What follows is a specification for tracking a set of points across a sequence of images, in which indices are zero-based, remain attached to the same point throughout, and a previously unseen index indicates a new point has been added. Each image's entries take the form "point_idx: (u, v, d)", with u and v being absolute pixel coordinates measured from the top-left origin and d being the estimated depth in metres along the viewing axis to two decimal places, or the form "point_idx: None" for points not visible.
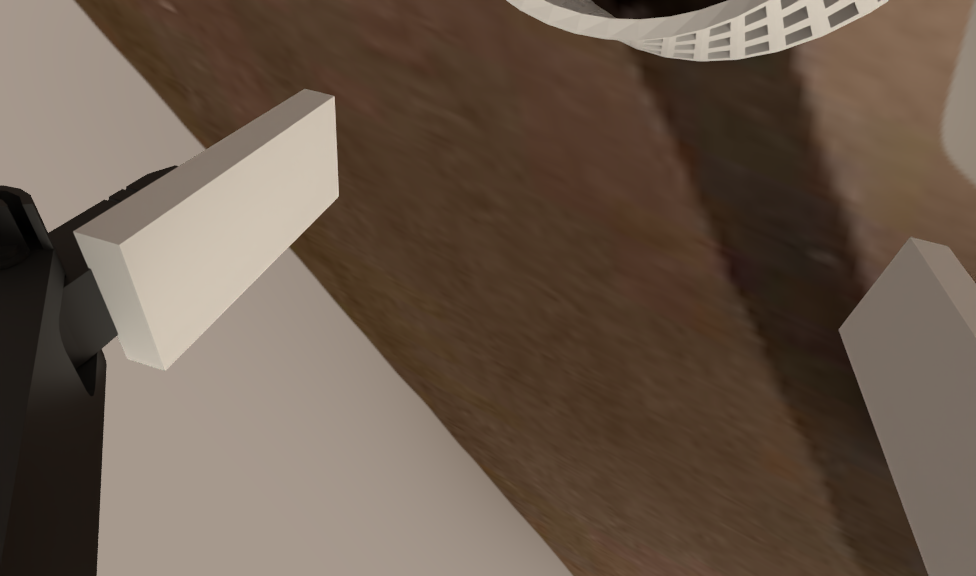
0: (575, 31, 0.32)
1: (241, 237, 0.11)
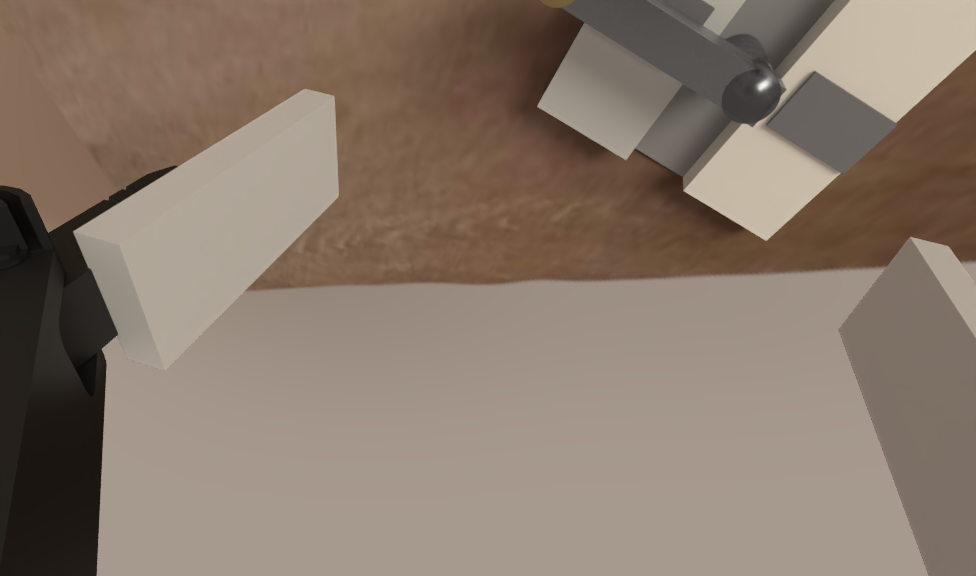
0: None
1: (240, 237, 0.11)
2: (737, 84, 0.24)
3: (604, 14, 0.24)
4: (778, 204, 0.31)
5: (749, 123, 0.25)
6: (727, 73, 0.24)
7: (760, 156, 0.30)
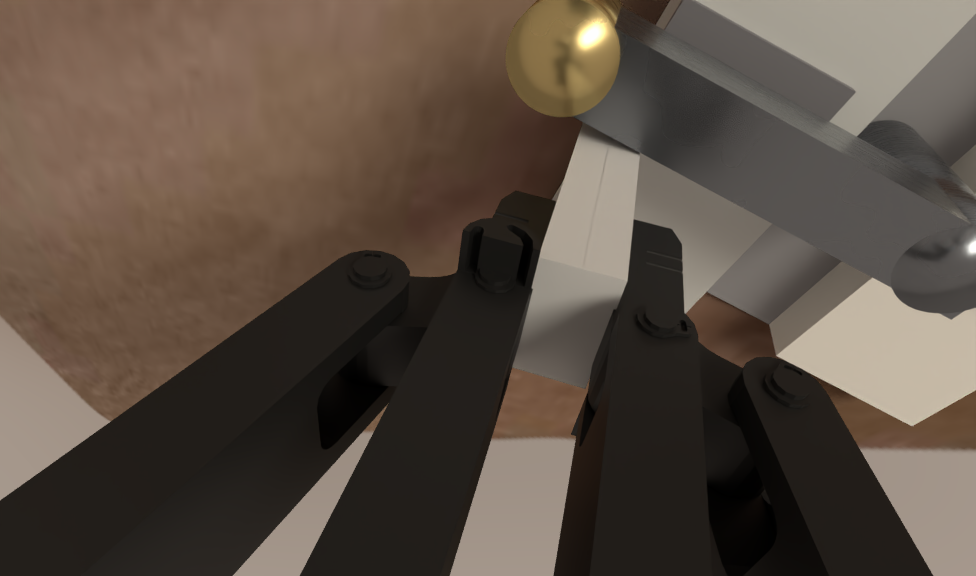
0: None
1: None
2: (929, 249, 0.12)
3: (658, 126, 0.12)
4: (938, 379, 0.19)
5: (945, 313, 0.13)
6: (910, 230, 0.12)
7: (914, 313, 0.18)
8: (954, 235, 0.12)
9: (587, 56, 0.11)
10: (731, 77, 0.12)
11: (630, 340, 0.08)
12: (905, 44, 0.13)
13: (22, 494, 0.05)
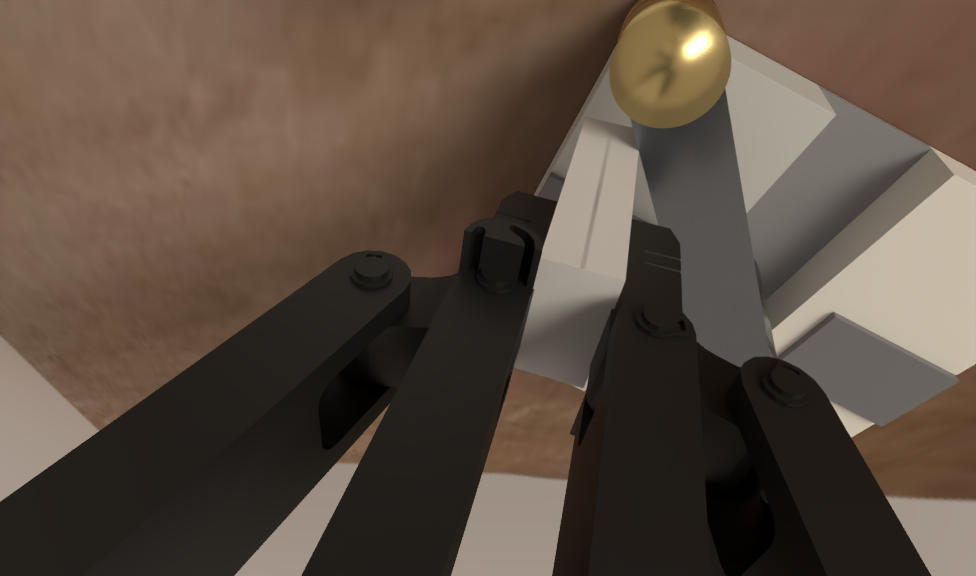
0: None
1: None
2: None
3: (678, 179, 0.13)
4: None
5: None
6: (742, 358, 0.15)
7: None
8: None
9: (689, 88, 0.11)
10: None
11: (628, 339, 0.08)
12: None
13: (24, 495, 0.05)
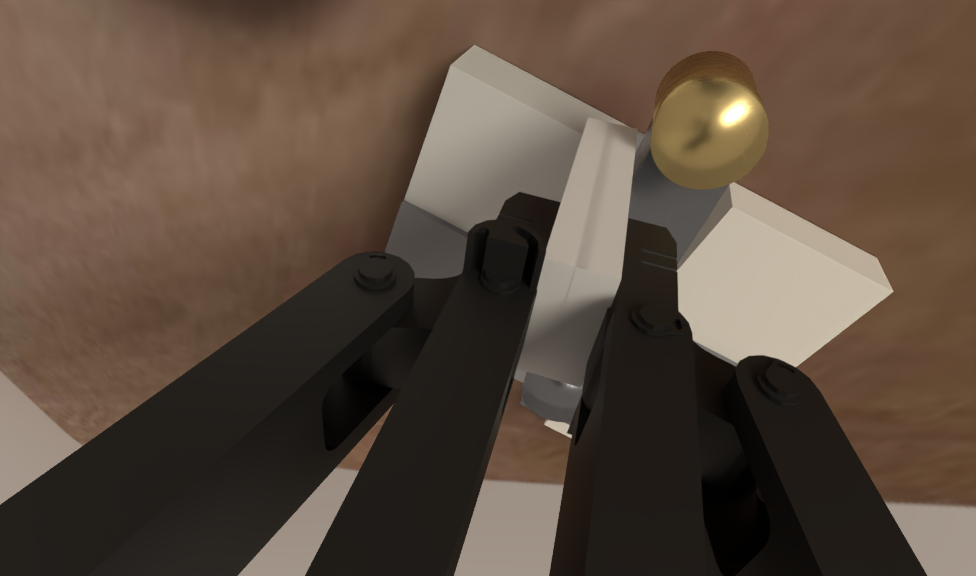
0: None
1: None
2: (568, 385, 0.18)
3: None
4: None
5: (523, 400, 0.19)
6: None
7: None
8: (581, 393, 0.18)
9: (711, 163, 0.12)
10: None
11: (623, 339, 0.08)
12: None
13: (27, 495, 0.05)
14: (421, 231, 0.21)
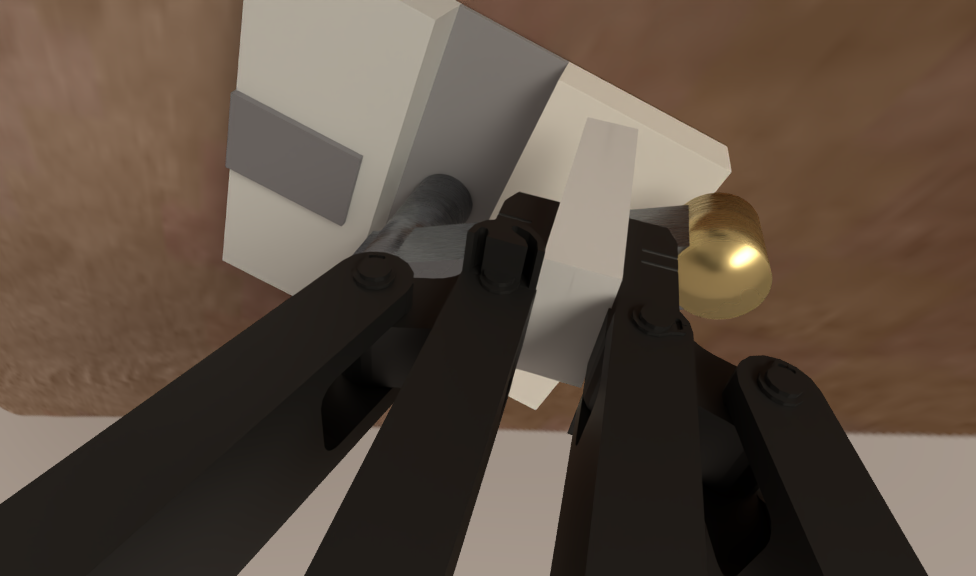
0: None
1: None
2: None
3: None
4: None
5: None
6: None
7: None
8: None
9: (700, 293, 0.14)
10: None
11: (625, 339, 0.08)
12: (378, 127, 0.19)
13: (26, 495, 0.05)
14: (256, 124, 0.19)
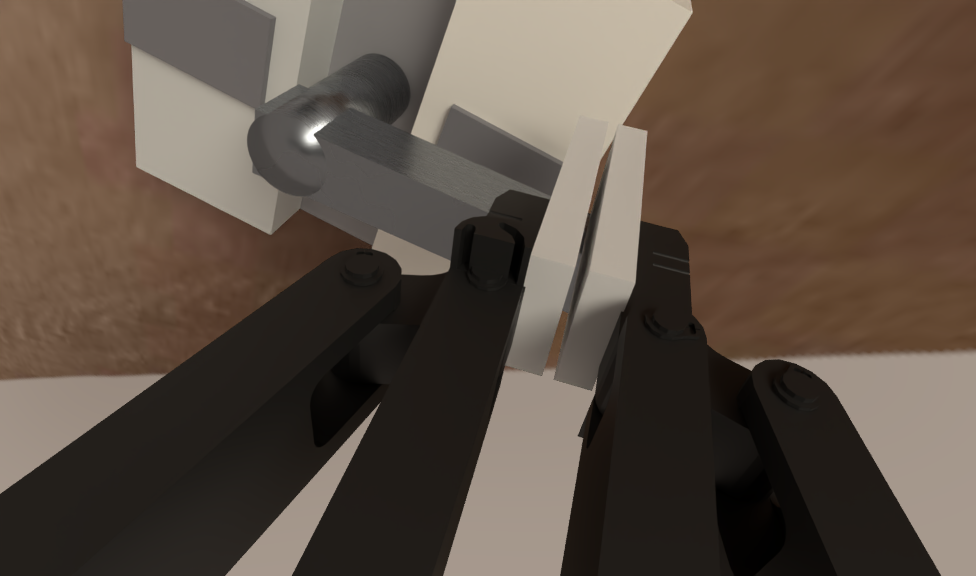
0: None
1: None
2: (314, 174, 0.15)
3: None
4: None
5: (263, 115, 0.14)
6: (335, 188, 0.15)
7: None
8: (309, 187, 0.15)
9: None
10: None
11: (638, 342, 0.08)
12: None
13: (12, 495, 0.05)
14: None
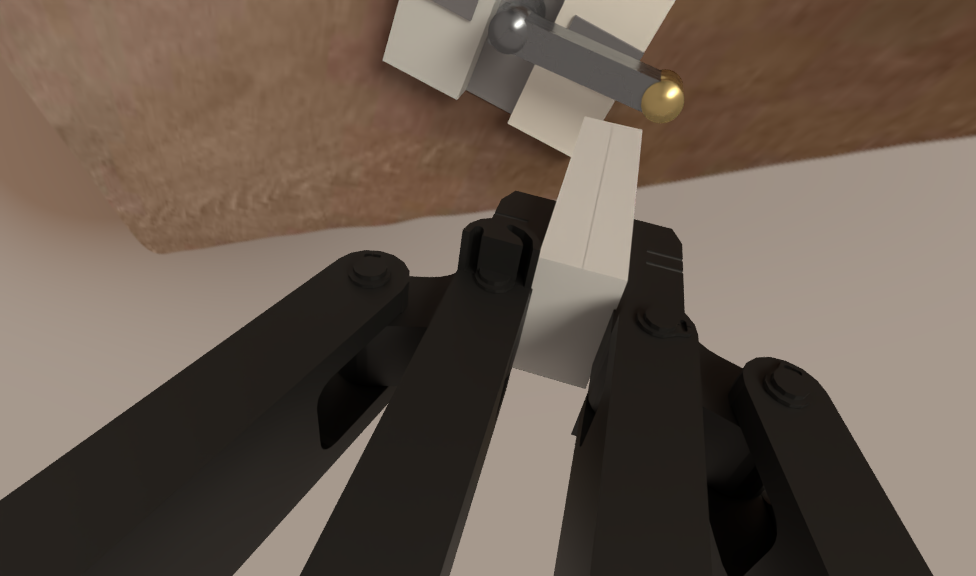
0: None
1: None
2: (520, 41, 0.32)
3: (625, 79, 0.32)
4: (579, 128, 0.39)
5: (501, 11, 0.31)
6: (529, 48, 0.32)
7: (555, 88, 0.38)
8: (515, 48, 0.32)
9: (652, 105, 0.32)
10: None
11: (630, 340, 0.08)
12: None
13: (22, 494, 0.05)
14: None
